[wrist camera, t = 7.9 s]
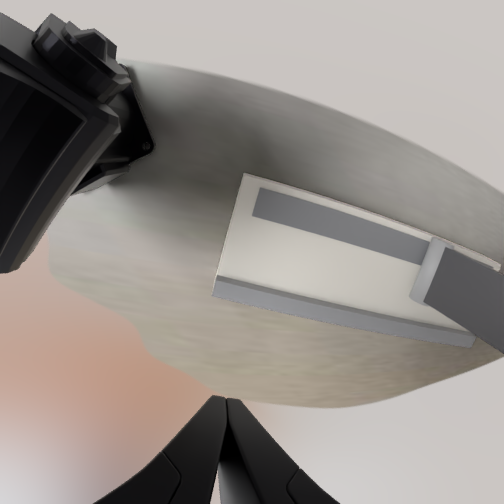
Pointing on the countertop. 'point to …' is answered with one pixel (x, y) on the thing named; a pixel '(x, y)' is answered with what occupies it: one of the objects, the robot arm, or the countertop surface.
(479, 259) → the panel
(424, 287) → the lever
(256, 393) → the countertop surface
